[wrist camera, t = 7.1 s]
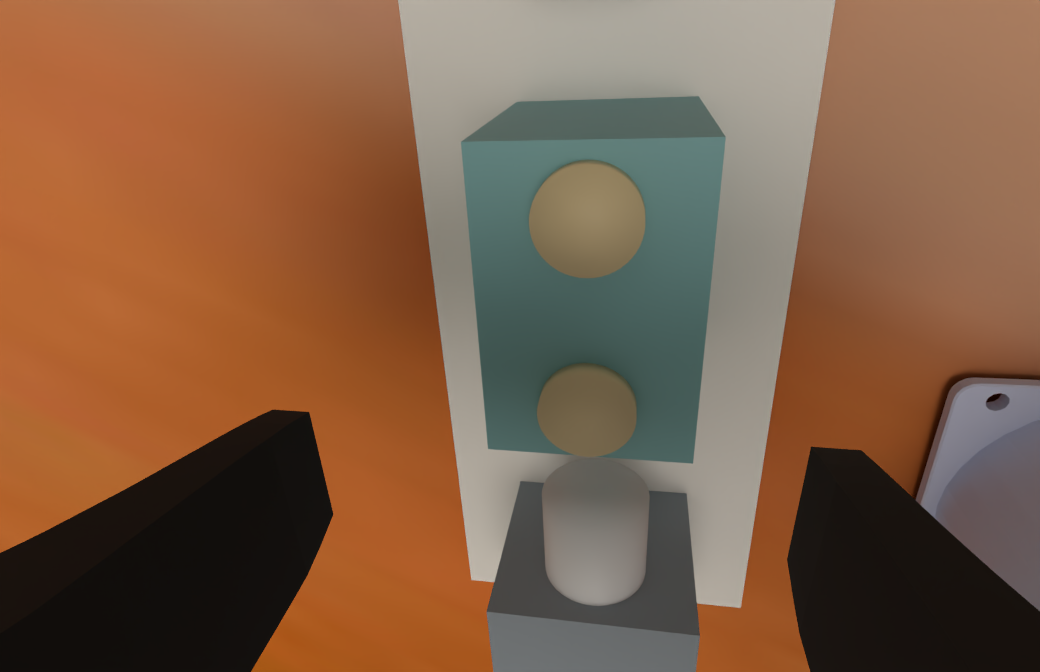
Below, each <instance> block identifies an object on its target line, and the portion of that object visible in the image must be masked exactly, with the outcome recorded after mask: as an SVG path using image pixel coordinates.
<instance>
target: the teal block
mask: <svg viewBox="0 0 1040 672" xmlns="http://www.w3.org/2000/svg"><path fill="white" fill-rule="evenodd" d="M725 140H726V136H725V135H724V133H723V132H722V130H721V129H720V127H719V126H718V124H717V123H716V121H715V120H714V118H713V117H712V115H711V114H710V112H709V111H708V109H707V108H706V106H705V105H704V104H703V102H702V101H701V99H700V98H699V96H691V97H657V98H624V99H590V100H556V101H523V102H516V103H514V104H513V105H512V106H510V107H509V108H507V109H506V110H505V111H503V112H502V113H500V114H499V115H498V116H496V117H495V118H493V119H492V120H491V121H489V122H488V123H486V124H485V125H484V126H482V127H481V128H479V129H478V130H477V131H475V132H474V133H472V134H471V135H470V136H468V137H467V138H465V139H464V140H463V141H461V149H462V160H463V172H464V183H465V194H466V206H467V217H468V228H469V240H470V251H471V262H472V274H473V285H474V296H475V308H476V319H477V330H478V342H479V353H480V364H481V376H482V387H483V398H484V410H485V421H486V432H487V444H488V449H493V450H507V451H521V452H536V453H550V454H564V455H578V456H584V457H606V458H620V459H634V460H649V461H663V462H677V463H691V464H693V459H694V449H695V439H696V430H697V420H698V410H699V400H700V390H701V380H702V370H703V360H704V350H705V340H706V330H707V320H708V310H709V300H710V290H711V280H712V270H713V260H714V250H715V240H716V230H717V220H718V210H719V200H720V190H721V180H722V170H723V160H724V150H725Z"/></svg>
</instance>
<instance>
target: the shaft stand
mask: <svg viewBox="0 0 1040 672" xmlns="http://www.w3.org/2000/svg"><path fill="white" fill-rule="evenodd" d="M398 3H399V11H400V18H401V26H402V34H403V42H404V50H405V58H406V66H407V74H408V82H409V90H410V98H411V105H412V113H413V121H414V129H415V137H416V145H417V153H418V161H419V169H420V177H421V184H422V192H423V200H424V208H425V216H426V224H427V232H428V240H429V248H430V256H431V264H432V271H433V279H434V287H435V295H436V303H437V311H438V319H439V327H440V335H441V343H442V351H443V358H444V366H445V374H446V382H447V390H448V398H449V406H450V414H451V422H452V430H453V437H454V445H455V453H456V461H457V469H458V477H459V485H460V493H461V501H462V509H463V517H464V524H465V532H466V540H467V548H468V556H469V564H470V572H471V580H478V581H488V582H494V586H493V589H492V593H491V597H490V601H489V605H488V609H487V619H488V627H489V636H490V645H491V653H492V662H493V671H494V672H696V664H697V655H698V647H699V638H700V633H699V622H698V611H697V603H699V604H708V605H718V606H728V607H737V608H741V602H742V596H743V589H744V583H745V577H746V570H747V564H748V557H749V551H750V545H751V538H752V532H753V525H754V519H755V513H756V506H757V500H758V493H759V487H760V480H761V474H762V468H763V461H764V455H765V448H766V442H767V436H768V429H769V423H770V416H771V410H772V404H773V397H774V391H775V384H776V378H777V371H778V365H779V359H780V352H781V346H782V339H783V333H784V327H785V320H786V314H787V307H788V301H789V295H790V288H791V282H792V275H793V269H794V262H795V256H796V250H797V243H798V237H799V230H800V224H801V218H802V211H803V205H804V198H805V192H806V186H807V179H808V173H809V166H810V160H811V153H812V147H813V141H814V134H815V128H816V121H817V115H818V109H819V102H820V96H821V89H822V83H823V77H824V70H825V64H826V57H827V51H828V44H829V38H830V32H831V25H832V19H833V12H834V6H835V0H398ZM691 96H699V98H700V99H701V101H702V102H703V104H704V105H705V106H706V108H707V109H708V111H709V112H710V114H711V115H712V117H713V118H714V120H715V121H716V123H717V124H718V126H719V127H720V129H721V130H722V132H723V133H724V135H725V136H726V140H725V150H724V160H723V170H722V180H721V190H720V200H719V210H718V220H717V230H716V240H715V250H714V260H713V270H712V280H711V290H710V300H709V310H708V320H707V330H706V340H705V350H704V360H703V370H702V380H701V390H700V400H699V410H698V420H697V430H696V439H695V449H694V459H693V464H691V463H677V462H663V461H649V460H634V459H620V458H606V457H584V456H578V455H564V454H550V453H536V452H521V451H507V450H493V449H488V444H487V432H486V421H485V410H484V398H483V387H482V376H481V364H480V353H479V342H478V330H477V319H476V308H475V296H474V285H473V274H472V262H471V251H470V240H469V228H468V217H467V206H466V194H465V183H464V172H463V160H462V149H461V141H463V140H464V139H465V138H467V137H468V136H470V135H471V134H472V133H474V132H475V131H477V130H478V129H479V128H481V127H482V126H484V125H485V124H486V123H488V122H489V121H491V120H492V119H493V118H495V117H496V116H498V115H499V114H500V113H502V112H503V111H505V110H506V109H507V108H509V107H510V106H512V105H513V104H514V103H516V102H523V101H556V100H590V99H624V98H657V97H691Z"/></svg>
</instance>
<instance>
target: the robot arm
mask: <svg viewBox="0 0 1040 672" xmlns="http://www.w3.org/2000/svg"><path fill="white" fill-rule="evenodd" d="M999 393H1002V394H1001V396H1000V397H999V399H997V400H995V401H993V402H986V401H987V399H988V398H989V397H990V396H992V395H994V394H999ZM332 516H333V511H332V507H331V503H330V498H329V494H328V490H327V486H326V482H325V477H324V473H323V469H322V465H321V460H320V456H319V452H318V448H317V444H316V439H315V435H314V431H313V427H312V422H311V418H310V414H309V412H299V411H284V410H271V411H269V412H267V413H265V414H262V415H260V416H258V417H256V418H254V419H252V420H250V421H248V422H246V423H244V424H242V425H240V426H239V427H237V428H235V429H233V430H231V431H229V432H227V433H226V434H224V435H222V436H220V437H218V438H217V439H215V440H213V441H211V442H209V443H208V444H206V445H204V446H202V447H201V448H199V449H197V450H195V451H193V452H192V453H190V454H188V455H186V456H185V457H183V458H181V459H179V460H177V461H176V462H174V463H172V464H170V465H168V466H167V467H165V468H163V469H161V470H159V471H158V472H156V473H154V474H152V475H151V476H149V477H147V478H145V479H143V480H142V481H140V482H138V483H136V484H134V485H133V486H131V487H129V488H127V489H125V490H123V491H121V492H120V493H118V494H116V495H114V496H112V497H110V498H108V499H106V500H104V501H102V502H100V503H98V504H97V505H95V506H93V507H91V508H89V509H87V510H85V511H83V512H81V513H79V514H77V515H76V516H74V517H72V518H70V519H68V520H66V521H64V522H62V523H60V524H58V525H56V526H55V527H53V528H51V529H49V530H47V531H45V532H43V533H41V534H39V535H37V536H35V537H33V538H31V539H29V540H27V541H25V542H23V543H21V544H18V545H16V546H14V547H12V548H10V549H8V550H6V551H4V552H2V553H0V672H251V670H252V669H253V667H254V665H255V664H256V662H257V660H258V659H259V657H260V655H261V654H262V652H263V650H264V649H265V647H266V645H267V644H268V642H269V640H270V638H271V637H272V635H273V633H274V632H275V630H276V628H277V627H278V625H279V623H280V622H281V620H282V618H283V616H284V615H285V613H286V611H287V610H288V608H289V606H290V604H291V603H292V601H293V599H294V598H295V596H296V594H297V592H298V591H299V589H300V587H301V585H302V584H303V582H304V580H305V578H306V577H307V575H308V573H309V570H310V568H311V566H312V564H313V561H314V559H315V557H316V555H317V552H318V550H319V548H320V546H321V543H322V541H323V538H324V536H325V533H326V531H327V528H328V526H329V524H330V521H331V519H332ZM787 561H788V567H789V574H790V580H791V586H792V593H793V599H794V605H795V610H796V616H797V622H798V627H799V633H800V637H801V640H802V644H803V647H804V651H805V654H806V658H807V661H808V665H809V668H810V672H1040V380H1028V379H1002V378H976V377H974V378H966V379H964V380H961V381H959V382H957V383H956V384H955V385H954V386H952V388H951V389H950V391H949V393H948V396H947V399H946V402H945V406H944V409H943V412H942V415H941V419H940V422H939V425H938V428H937V432H936V435H935V438H934V442H933V445H932V448H931V451H930V455H929V458H928V461H927V464H926V468H925V471H924V474H923V477H922V481H921V484H920V487H919V490H918V494H917V497H916V500H915V499H914V498H912V497H911V496H910V495H909V494H908V493H907V492H906V491H905V490H904V489H903V488H902V487H901V486H900V485H899V484H898V483H896V482H895V481H894V480H893V479H892V478H891V477H890V476H889V475H888V474H887V473H886V472H885V471H884V470H882V469H881V468H880V467H879V466H878V465H877V464H876V463H875V462H874V461H873V460H871V459H870V458H869V457H868V456H867V455H866V454H865V453H864V452H862V451H861V450H848V449H834V448H819V447H811V451H810V455H809V460H808V465H807V469H806V474H805V479H804V483H803V488H802V493H801V497H800V502H799V507H798V511H797V516H796V521H795V525H794V530H793V535H792V540H791V544H790V549H789V554H788V558H787Z"/></svg>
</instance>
